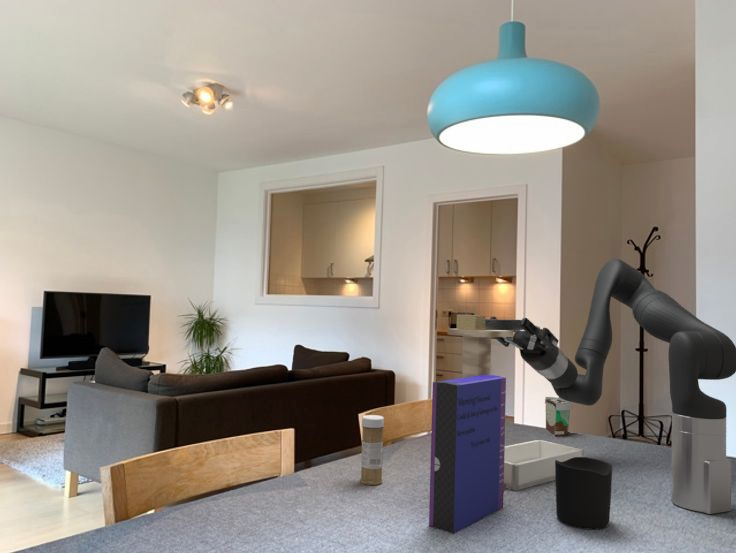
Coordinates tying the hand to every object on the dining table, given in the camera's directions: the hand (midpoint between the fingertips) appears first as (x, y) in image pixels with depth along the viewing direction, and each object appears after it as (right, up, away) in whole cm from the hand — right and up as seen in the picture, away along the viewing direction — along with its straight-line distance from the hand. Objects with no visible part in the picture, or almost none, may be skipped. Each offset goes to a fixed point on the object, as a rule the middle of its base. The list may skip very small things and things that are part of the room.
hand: (506, 320), depth 129 cm
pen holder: (+8, -33, -25) cm, 42 cm away
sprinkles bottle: (-29, -33, -6) cm, 45 cm away
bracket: (-8, -33, -7) cm, 35 cm away
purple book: (-12, -33, -24) cm, 43 cm away
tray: (+6, -34, +4) cm, 35 cm away
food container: (+27, -37, +49) cm, 67 cm away
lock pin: (-3, -2, -2) cm, 4 cm away
